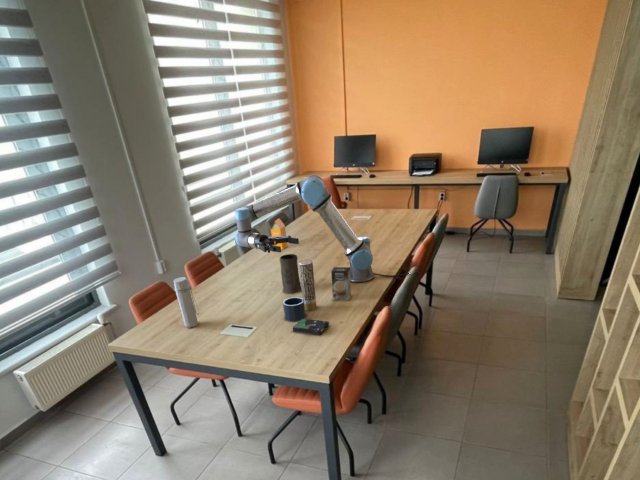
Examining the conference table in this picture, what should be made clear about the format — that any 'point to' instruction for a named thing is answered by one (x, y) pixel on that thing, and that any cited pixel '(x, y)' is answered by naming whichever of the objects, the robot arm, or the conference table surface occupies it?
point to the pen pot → (294, 309)
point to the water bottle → (186, 302)
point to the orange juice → (279, 232)
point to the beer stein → (290, 273)
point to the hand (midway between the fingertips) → (289, 245)
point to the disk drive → (311, 326)
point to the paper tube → (307, 284)
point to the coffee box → (341, 283)
